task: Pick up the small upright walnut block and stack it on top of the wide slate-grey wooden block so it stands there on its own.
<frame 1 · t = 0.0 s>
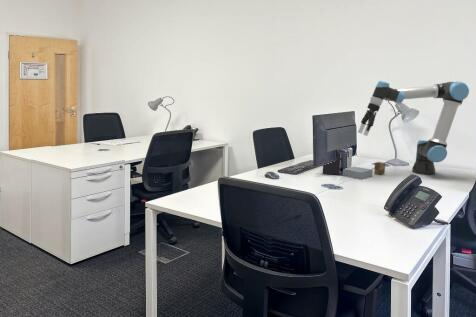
hand: (362, 134, 276), 28 cm above the table, tool tilted 20°, fingers open, 13 cm apart
slate base: (357, 176, 277), on the table
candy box: (344, 169, 300), on the table
walnut block: (379, 174, 285), on the table
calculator: (330, 174, 282), on the table
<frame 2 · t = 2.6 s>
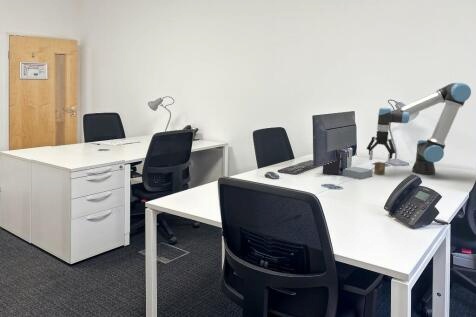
hand: (379, 161, 283), 9 cm above the table, tool pointing down, fingers open, 13 cm apart
nothing on the table moved.
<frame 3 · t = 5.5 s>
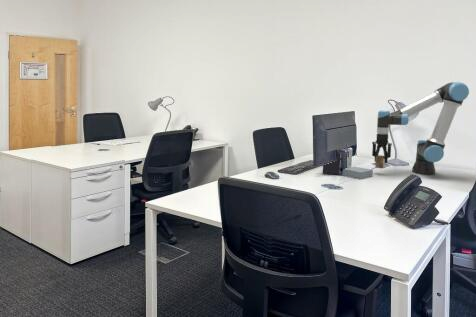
hand: (380, 167, 284), 5 cm above the table, tool pointing down, fingers closed on walnut block, 5 cm apart
walnut block: (380, 167, 284), point 5 cm above the table, touching gripper
everything else where it was.
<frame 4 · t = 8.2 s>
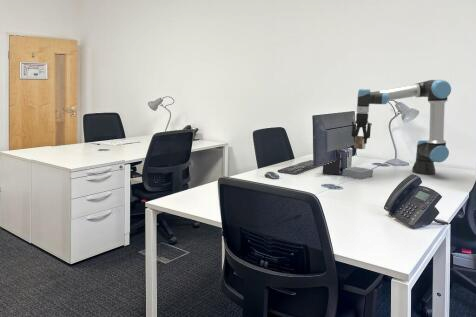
hand: (359, 147, 274), 19 cm above the table, tool pointing down, fingers closed on walnut block, 5 cm apart
walnut block: (359, 148, 274), point 19 cm above the table, touching gripper
everything else where it was.
when the fingers open (6 cm above the table, at t = 11.3 s): walnut block drops 1 cm, point 5 cm above the table.
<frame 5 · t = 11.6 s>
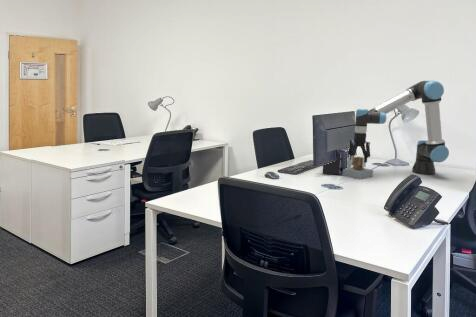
hand: (358, 166, 276), 7 cm above the table, tool pointing down, fingers open, 8 cm apart
walnut block: (358, 169, 276), point 5 cm above the table
everything else where it was.
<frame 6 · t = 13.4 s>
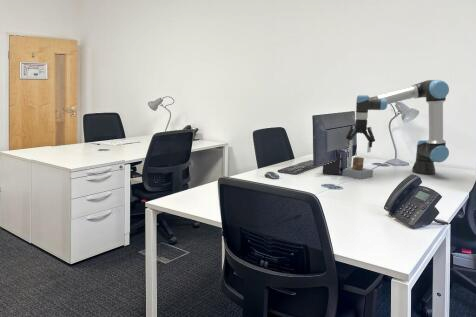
hand: (359, 150, 274), 17 cm above the table, tool pointing down, fingers open, 13 cm apart
slate base: (357, 176, 277), on the table, touching walnut block
walnut block: (357, 169, 276), point 5 cm above the table, touching slate base
everything else where it was.
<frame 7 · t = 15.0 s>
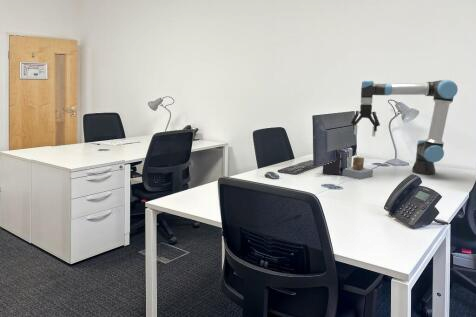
hand: (364, 135, 282), 27 cm above the table, tool pointing down, fingers open, 13 cm apart
slate base: (357, 176, 277), on the table
walnut block: (357, 169, 276), point 5 cm above the table
everything else where it was.
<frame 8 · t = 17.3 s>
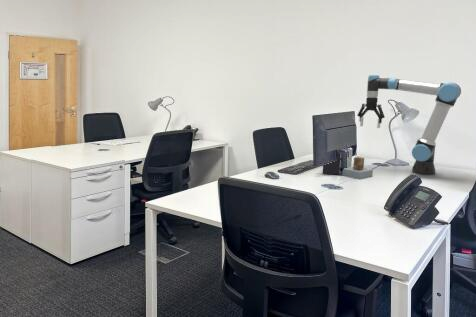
hand: (369, 127, 296), 31 cm above the table, tool pointing down, fingers open, 13 cm apart
slate base: (357, 176, 278), on the table, touching walnut block
walnut block: (358, 169, 276), point 5 cm above the table, touching slate base
everything else where it was.
at the end: walnut block inside the target area on the slate base (0.3 cm from its centre), point 5.0 cm above the slate base's base; walnut block tilted 0°; the gripper is holding nothing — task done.
